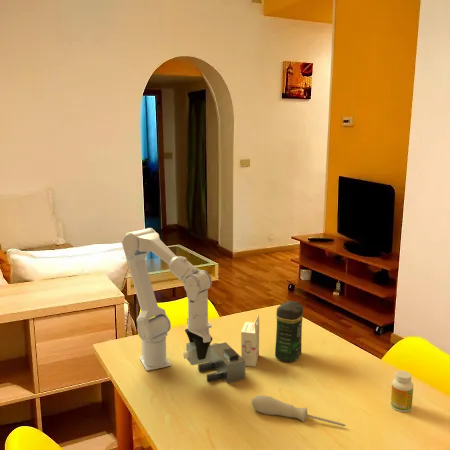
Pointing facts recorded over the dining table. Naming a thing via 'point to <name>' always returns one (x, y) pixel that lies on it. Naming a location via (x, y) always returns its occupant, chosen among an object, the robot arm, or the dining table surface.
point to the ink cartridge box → (250, 342)
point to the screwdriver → (283, 409)
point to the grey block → (195, 354)
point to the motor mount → (224, 364)
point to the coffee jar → (289, 331)
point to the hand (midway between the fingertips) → (198, 355)
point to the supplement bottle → (402, 392)
